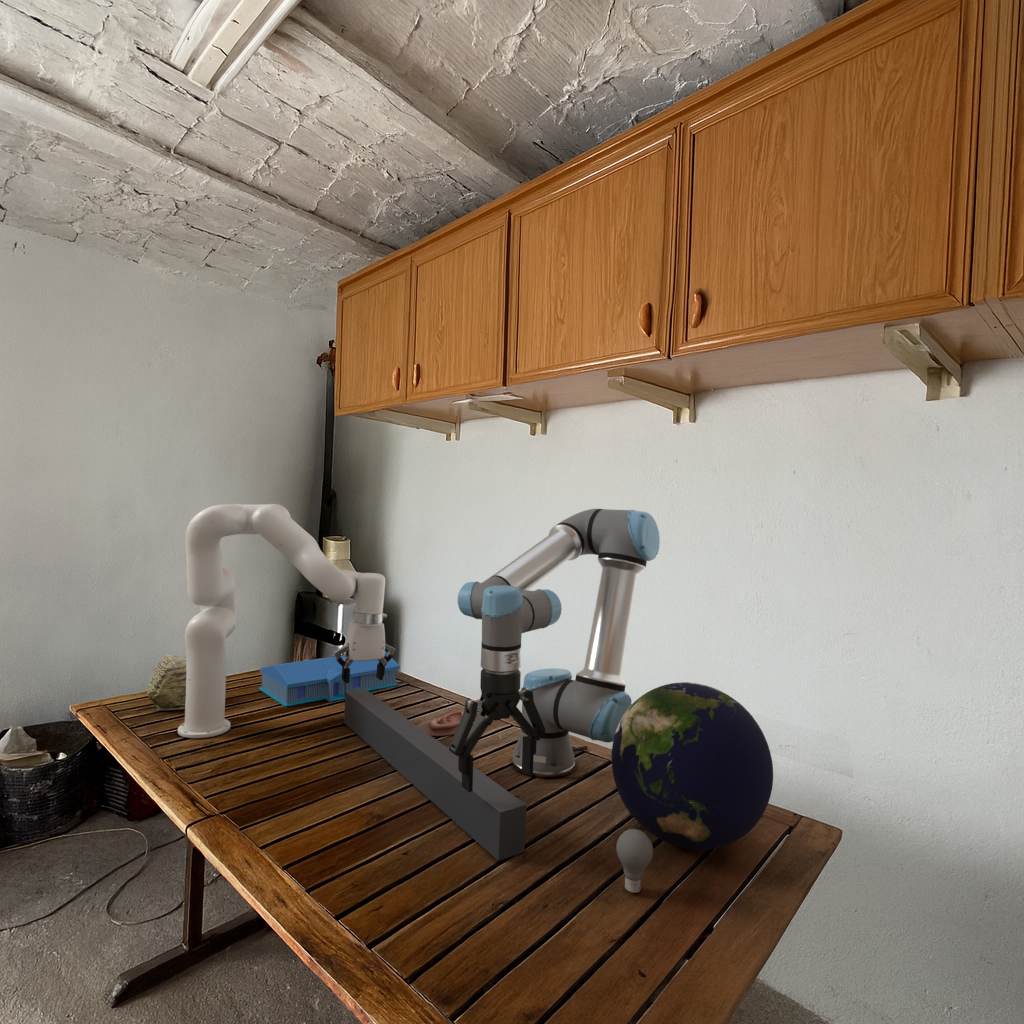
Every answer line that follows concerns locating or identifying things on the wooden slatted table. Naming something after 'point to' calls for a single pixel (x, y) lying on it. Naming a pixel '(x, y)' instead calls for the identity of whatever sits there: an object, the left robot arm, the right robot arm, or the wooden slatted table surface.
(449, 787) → the beam
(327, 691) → the model building
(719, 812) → the globe
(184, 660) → the fossil
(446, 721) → the anatomical model
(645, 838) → the light bulb
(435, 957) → the wooden slatted table surface
